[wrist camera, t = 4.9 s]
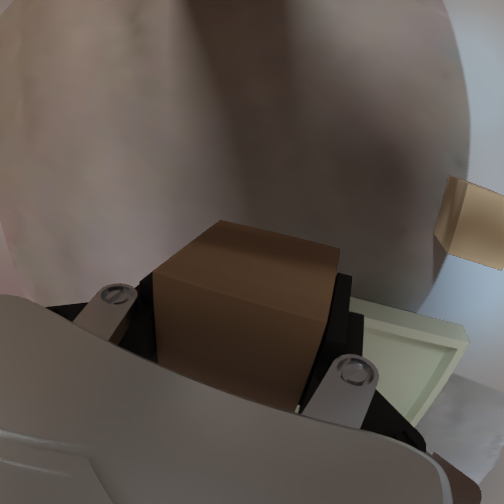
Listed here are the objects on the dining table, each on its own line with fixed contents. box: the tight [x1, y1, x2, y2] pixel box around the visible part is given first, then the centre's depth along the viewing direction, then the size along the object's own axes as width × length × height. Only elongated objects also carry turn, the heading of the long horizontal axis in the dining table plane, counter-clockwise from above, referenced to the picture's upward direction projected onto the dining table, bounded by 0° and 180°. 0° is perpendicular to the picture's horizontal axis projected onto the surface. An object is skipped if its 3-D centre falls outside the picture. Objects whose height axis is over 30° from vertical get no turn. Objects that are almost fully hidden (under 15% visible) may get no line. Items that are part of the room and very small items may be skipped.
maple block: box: [433, 175, 504, 271], centre depth 17 cm, size 4×4×4 cm
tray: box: [295, 296, 470, 428], centre depth 25 cm, size 15×14×3 cm
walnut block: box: [152, 220, 340, 412], centre depth 10 cm, size 4×4×4 cm
